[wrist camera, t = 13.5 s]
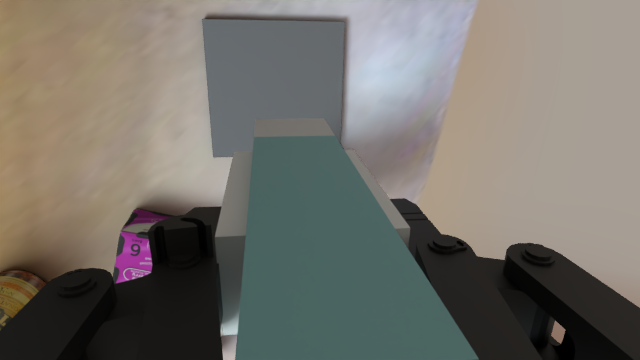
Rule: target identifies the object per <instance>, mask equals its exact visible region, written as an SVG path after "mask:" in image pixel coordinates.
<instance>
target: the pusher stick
mask: <svg viewBox="0 0 640 360" xmlns="http://www.w3.org/2000/svg"><path fill="white" fill-rule="evenodd" d="M235 360H479V358H478V357H477V355H476V354H475V352H474V351H473V349H472V347H471V346H470V344H469V343H468V341H467V340H466V338H465V337H464V335H463V333H462V332H461V330H460V329H459V327H458V326H457V324H456V323H455V321H454V320H453V318H452V316H451V315H450V313H449V312H448V310H447V309H446V307H445V306H444V304H443V302H442V301H441V299H440V298H439V296H438V295H437V293H436V292H435V290H434V288H433V287H432V285H431V284H430V282H429V281H428V279H427V278H426V276H425V274H424V273H423V271H422V270H421V268H420V267H419V265H418V264H417V262H416V261H415V259H414V257H413V256H412V254H411V253H410V251H409V250H408V248H407V247H406V245H405V243H404V242H403V240H402V239H401V237H400V236H399V234H398V233H397V231H396V229H395V228H394V226H393V225H392V223H391V222H390V220H389V219H388V217H387V215H386V214H385V212H384V211H383V209H382V208H381V206H380V205H379V203H378V201H377V200H376V198H375V197H374V195H373V194H372V192H371V191H370V189H369V188H368V186H367V184H366V183H365V181H364V180H363V178H362V177H361V175H360V174H359V172H358V170H357V169H356V167H355V166H354V164H353V163H352V161H351V160H350V158H349V156H348V155H347V153H346V152H345V150H344V149H343V147H342V146H341V144H340V142H339V141H338V139H337V138H336V136H335V135H334V133H333V132H332V130H331V129H330V127H329V125H328V124H327V122H326V121H325V119H324V118H321V119H255V131H254V143H253V154H252V166H251V178H250V190H249V202H248V214H247V226H246V238H245V250H244V262H243V274H242V286H241V298H240V310H239V322H238V334H237V345H236V357H235Z"/></svg>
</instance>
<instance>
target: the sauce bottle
mask: <svg viewBox="0 0 640 360" xmlns="http://www.w3.org/2000/svg"><path fill="white" fill-rule="evenodd" d="M45 285H46V283H45V282H44V281H43V280H41V279H40V278H39V277H37V276H36V275H34V274H33V273H29V272H27V271H16V270H15V271H6V272H1V273H0V330H1V329H2V328H3V327H4V326H5V325H6V324H7V323H8V322H9V321H10V320H11V319H12V318H13V317H14V316H15V315H16V314H17V313H18V312H19V311H20V310H21V309H22V308H23V307H24V306H25V305H26V304H27V303H28V302H29V301H30V300H31V299H32V298H33V297H34V296H35V295H36V294H37V293H38V292H39V291H40V290H41V289H42V288H43V287H44V286H45Z"/></svg>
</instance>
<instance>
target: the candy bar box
mask: <svg viewBox="0 0 640 360" xmlns="http://www.w3.org/2000/svg"><path fill="white" fill-rule="evenodd" d="M170 217H175V216H170V215H165V214H160V213H155V212H150V211H144V210H139V209H135V210H134V211H133V212H132V214H131V216H130V218H129V219H128V221H127V222H126V224H125V225H124V226H123V228H122V230H121V232H120V237H119V242H118V249H117V255H116V260H115V267H114V273H113V280H114V284H115V283H120V282H124V281H128V280H132V279H136V278H139V277H143V276H145V275H147V274H150V273H151V270H152V259H151V253H150V246H149V239H148V233H147V232H148V230H149V229H150V227H151V226H152V225H154V224H155V223H157V222H159V221H161V220H164V219H167V218H170ZM222 333H223V329H222V325H221V337H222Z"/></svg>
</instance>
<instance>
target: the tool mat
mask: <svg viewBox="0 0 640 360" xmlns="http://www.w3.org/2000/svg"><path fill="white" fill-rule="evenodd" d="M202 23H203V36H204V48H205V61H206V73H207V86H208V98H209V111H210V123H211V136H212V148H213V157H233V155H234V152H253V143H254V131H255V119H321V118H324V119H325V121H326V122H327V124H328V125H329V127H330V129H331V130H332V132H333V133H334V135H335V136H336V138H337V139H338V141H339V142H340V139H341V111H342V83H343V54H344V26H345V22H331V21H278V20H225V19H202Z"/></svg>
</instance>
